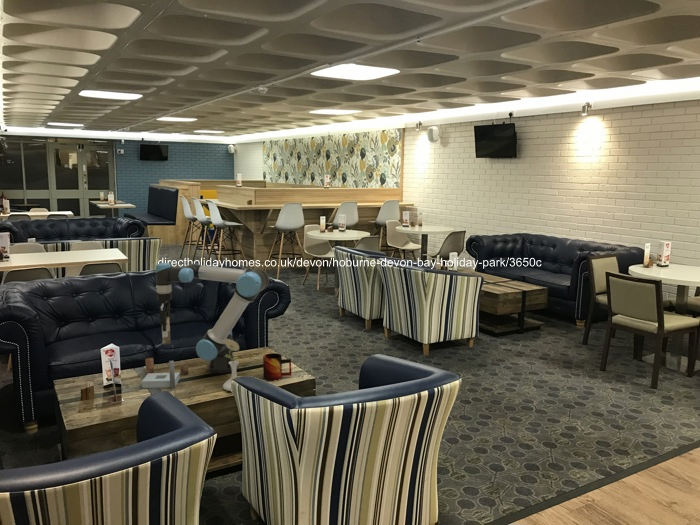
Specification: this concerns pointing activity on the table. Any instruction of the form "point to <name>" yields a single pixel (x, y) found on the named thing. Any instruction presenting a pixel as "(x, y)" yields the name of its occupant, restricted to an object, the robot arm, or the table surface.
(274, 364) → the mug
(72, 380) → the table surface
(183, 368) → the short pin
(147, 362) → the medium pin
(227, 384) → the flower in vase
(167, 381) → the hole plate
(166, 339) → the long pin
